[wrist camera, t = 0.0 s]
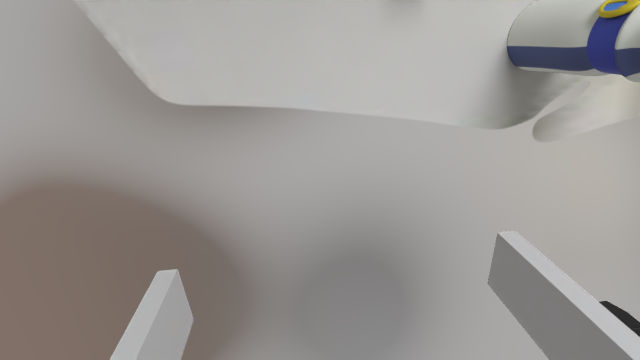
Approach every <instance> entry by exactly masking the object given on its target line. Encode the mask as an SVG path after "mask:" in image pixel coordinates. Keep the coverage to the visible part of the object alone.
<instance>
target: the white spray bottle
mask: <svg viewBox="0 0 640 360" xmlns="http://www.w3.org/2000/svg"><path fill="white" fill-rule="evenodd" d="M507 49H508V54H509V57H510V59H511V61H512V62H513V63H514V65H516V66H517V67H518V68H520V69H522V70H526V71H542V72H556V73H565V74H573V75H583V76H601V75H607V74H619V75H623V76H624V77H625V78H626V79H628V80H630V81H634V82H640V0H538V1H536V2H534V3H532V4H530V5H529V6H527V7H526V8H525V9H524V10H523V11H522V12H521V13H520V14H519V15H518V17H517V18H516V19H515V21H514V23H513V25H512V27H511V29H510V32H509V35H508V41H507Z"/></svg>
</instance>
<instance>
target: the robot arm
mask: <svg viewBox="0 0 640 360" xmlns="http://www.w3.org/2000/svg"><path fill="white" fill-rule="evenodd" d="M488 285H489V286H490V287H491V288H492V290H493V291H494V292H495V293H496V295H497V296H498V297H499V298H500V299H501V301H502V302H503V303H504V304H505V306H506V307H507V308H508V309H509V310H510V312H511V313H512V314H513V315H514V317H515V318H516V319H517V320H518V322H519V323H520V324H521V325H522V327H523V328H524V329H525V330H526V331H527V333H528V334H529V335H530V337H531V338H532V339H533V340H534V341H535V343H536V344H537V345H538V346H539V348H540V349H541V350H542V351H543V352H544V354H545V355H546V356H547V357H548V359H549V360H640V322H639V321H637V320H636V319H635V318H634V317H632V316H631V315H630V314H629V313H627V312H626V311H624V310H622V309H620V308H618V307H617V306H615V305H613V304H611V303H609V302H607V301H602V302H598V301H597V300H596V299H594V298H593V297H592V296H591V295H590V294H589V293H587V292H586V291H585V290H584V289H583V288H582V287H580V286H579V285H578V284H577V283H576V282H575V281H573V280H572V279H571V278H570V277H569V276H567V275H566V274H565V273H564V272H563V271H562V270H560V269H559V268H558V267H557V266H556V265H555V264H554V263H552V262H551V261H550V260H549V259H548V258H546V257H545V256H544V255H543V254H542V253H540V252H539V251H538V250H537V249H536V248H535V247H534V246H532V245H531V244H530V243H529V242H528V241H527V240H525V239H524V238H523V237H522V236H521V235H520V234H518V233H517V232H516V231H508V232H499V233H497V238H496V244H495V248H494V253H493V258H492V264H491V269H490V274H489V279H488ZM193 320H194V319H193V316H192V313H191V310H190V307H189V304H188V300H187V298H186V294H185V291H184V288H183V284H182V281H181V278H180V275H179V272H178V269H174V270H165V271H158V272H157V274H156V275H155V277H154V279H153V281H152V283H151V285H150V287H149V289H148V290H147V292H146V294H145V296H144V297H143V299H142V301H141V303H140V305H139V307H138V309H137V310H136V312H135V314H134V316H133V318H132V320H131V321H130V323H129V325H128V327H127V329H126V331H125V332H124V334H123V336H122V338H121V340H120V342H119V344H118V345H117V347H116V349H115V351H114V353H113V354H112V356H111V358H110V360H181V357H182V354H183V351H184V348H185V345H186V342H187V338H188V335H189V333H190V329H191V327H192V323H193Z"/></svg>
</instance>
